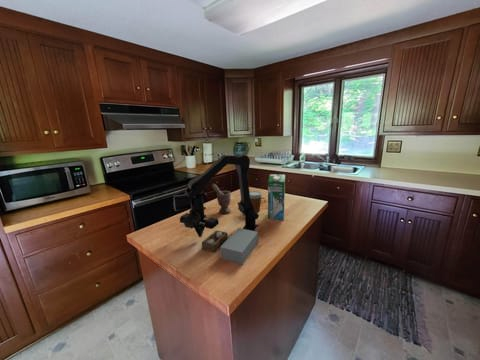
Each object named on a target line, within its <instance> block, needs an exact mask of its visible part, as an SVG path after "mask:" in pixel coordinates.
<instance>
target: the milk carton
mask: <svg viewBox="0 0 480 360" xmlns="http://www.w3.org/2000/svg"><path fill="white" fill-rule="evenodd" d="M285 195H286V174H280V173H279V174H276V173H274V174H272V173H271V174H269V176H268V181H267V219H268V220H281V221H284V220H285V198H286V196H285Z"/></svg>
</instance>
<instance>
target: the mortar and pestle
mask: <svg viewBox="0 0 480 360" xmlns="http://www.w3.org/2000/svg"><path fill="white" fill-rule="evenodd" d="M211 188H212V189H213V190H214V191H215V193H216V200H217V202H218V205H219V206H220V208H219V210H218V212H219V213H220V214H222V215H226V214H230V213H231V212H232V211H231V210H232V209H231V208H230V207H229V206H230V204H231V198H232V197H231V191H230V190H220V188H219V186H218V185H217V184H216V183H212V184H211Z"/></svg>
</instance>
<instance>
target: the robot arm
mask: <svg viewBox="0 0 480 360" xmlns="http://www.w3.org/2000/svg"><path fill="white" fill-rule="evenodd" d="M250 163H251V162H250V157H249V156H247V155H246V154H241V153H238V154H235V155H226V154H222V155H221V156H220V157H219V158H218V159H217V160H216V161H215V162H214V163H212V165H210V167H208V168H207V169H206V170H205V171H204V172H203V173H201V174H199V175H197V176H195V177H194V178H192V179H190V180H189V182H188V183H187V186H188V187H187V188H186V190H185V191H184V194H175V195H173V201H172V202H173V209H174V211H175V212H177V211H181V210H183V211H184V210H188V209H189V208H190V207H191V209H189V213H188V212H186V213H184V214H182V215H181V216H180V217H179V223H180V224H184V227H185V228H189V229H194V230H195V232H196V234H197V236H198V237H199V238H201V237H202V236H203V234H204V231H205V228H206V229H210V230H213V229H214V228H215V227H217V226H218V225H219V223H220V221H219V219H218V218H217V217H209V218H207V214H205V210H206V206H205V205H204V198H205V197H208V194H207V193H206V192H205V191H204V190H205V189H206V187H207V186H208V184H209V182H210V181H211V180H212V179H213V178H214V177H215V176H216V175H217V174H219V173H220V172H221V171H222V170H223V169H224V168H225V167H226V166H228V165H233V166H234V167H235V170H236V171H237V174H238V183H239V184H238V185H239V192H240V201H238V202H237V206H238V207H237V210H238V211H239V212H240V213H241V214H242V215H243V216H244V225H243V227H242V229H245V230H250V231H256V229H257V228H258V226H259V225H258V224H257V221H256V220H258V219H259V216H260V215H259V213H258V212H257V213H256V212H255V211H254V207H253V204H252V202H251V200H250V192H251V191H250V185H249V184H250V183H249V174H248V172H249V169H250V165H251V164H250Z"/></svg>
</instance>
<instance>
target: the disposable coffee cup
mask: <svg viewBox="0 0 480 360" xmlns="http://www.w3.org/2000/svg"><path fill="white" fill-rule="evenodd" d="M249 192H250V200H251V202H252V204H253V207H254V211H255V212H256V213H257V214H258V213H260V209H261V203H262V197H263V194H262V192H261V191H257V190H252V191H249Z"/></svg>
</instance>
